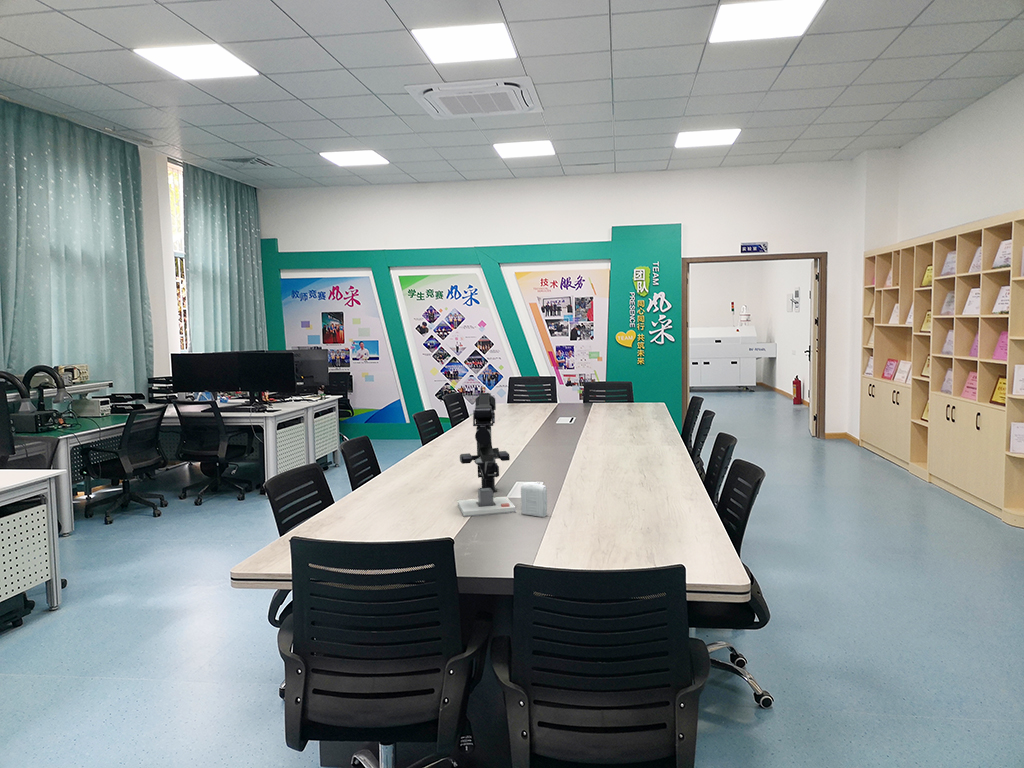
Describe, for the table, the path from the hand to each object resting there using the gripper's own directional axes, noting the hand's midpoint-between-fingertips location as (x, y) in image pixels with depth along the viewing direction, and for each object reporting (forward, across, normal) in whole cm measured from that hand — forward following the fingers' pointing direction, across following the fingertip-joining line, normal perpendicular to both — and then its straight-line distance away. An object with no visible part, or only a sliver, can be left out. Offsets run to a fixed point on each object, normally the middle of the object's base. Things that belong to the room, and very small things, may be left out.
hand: (485, 479), depth 259 cm
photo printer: (+12, +16, -13) cm, 24 cm away
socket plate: (+12, 0, 0) cm, 12 cm away
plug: (+11, 0, 0) cm, 11 cm away
